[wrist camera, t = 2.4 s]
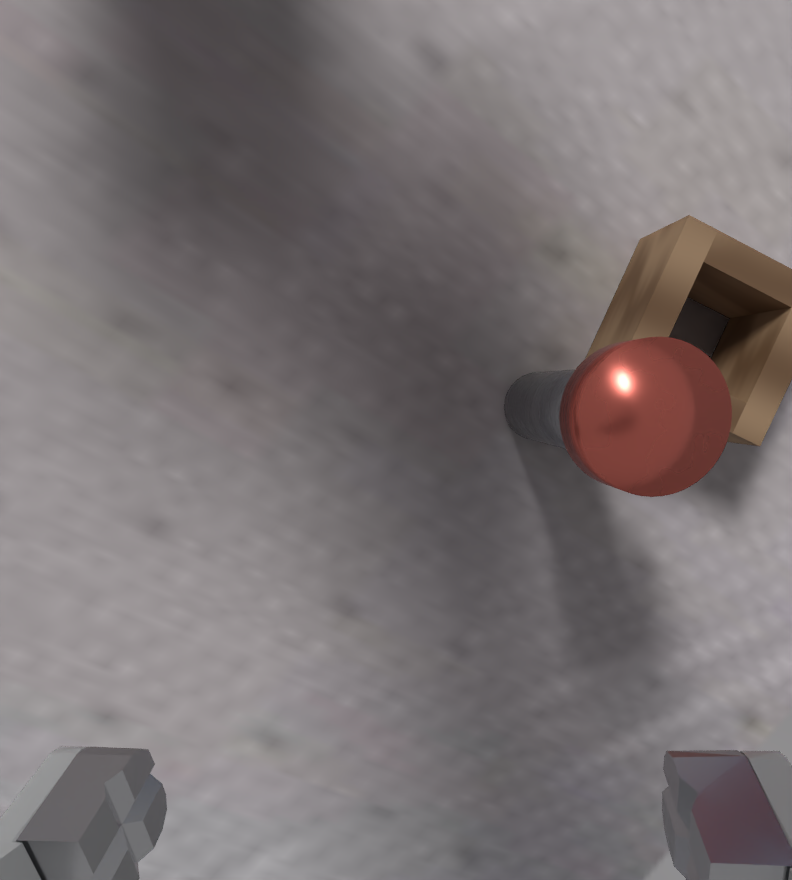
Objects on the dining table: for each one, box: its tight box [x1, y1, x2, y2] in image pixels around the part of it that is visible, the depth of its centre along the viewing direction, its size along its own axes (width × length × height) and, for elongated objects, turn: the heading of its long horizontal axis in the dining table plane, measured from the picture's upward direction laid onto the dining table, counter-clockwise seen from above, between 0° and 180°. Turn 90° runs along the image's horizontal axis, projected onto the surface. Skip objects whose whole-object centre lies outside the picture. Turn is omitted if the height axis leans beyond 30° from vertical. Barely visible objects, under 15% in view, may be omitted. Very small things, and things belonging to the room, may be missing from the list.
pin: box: [504, 337, 732, 497], centre depth 29 cm, size 6×6×14 cm
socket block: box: [586, 215, 792, 446], centre depth 34 cm, size 9×9×5 cm
